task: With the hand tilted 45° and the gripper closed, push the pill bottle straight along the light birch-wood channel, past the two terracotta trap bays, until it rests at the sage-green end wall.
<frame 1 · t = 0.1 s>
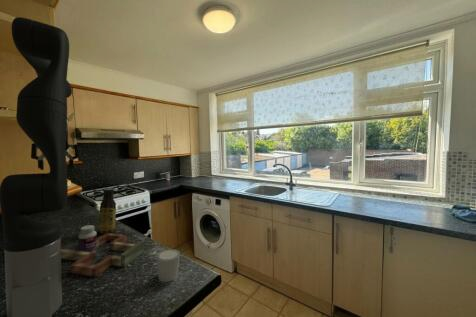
hand: (56, 169, 82), 29 cm above the counter, tool pointing down, fingers open, 8 cm apart
white cup: (168, 276, 63), on the counter
trap channel: (102, 254, 73), on the counter
sauce bottle: (107, 232, 92), on the counter
pill bottle: (87, 253, 74), resting in trap channel
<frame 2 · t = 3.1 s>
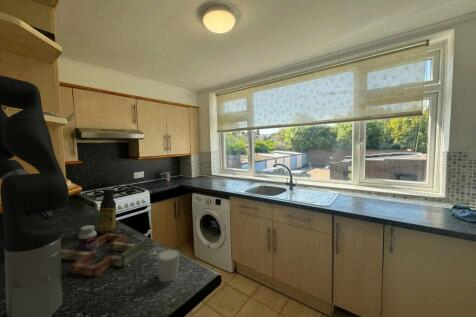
hand: (49, 218, 75), 12 cm above the counter, tool tilted 45°, fingers closed
nothing on the counter moved.
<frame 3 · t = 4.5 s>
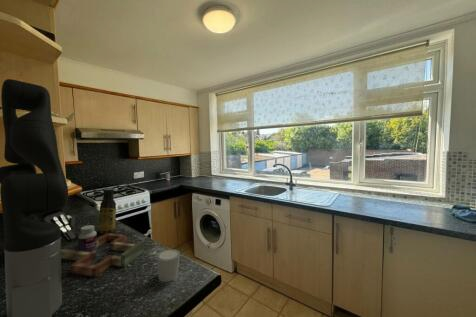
hand: (72, 240, 75), 4 cm above the counter, tool tilted 45°, fingers closed
nothing on the counter moved.
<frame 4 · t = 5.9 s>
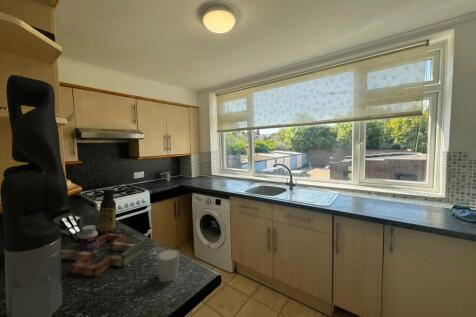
hand: (81, 242, 74), 4 cm above the counter, tool tilted 45°, fingers closed
pill bottle: (89, 253, 74), resting in trap channel, touching gripper
everything else where it was.
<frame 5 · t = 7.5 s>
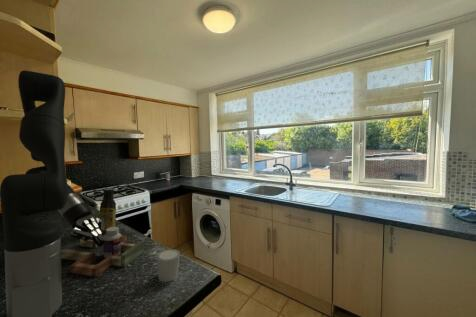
hand: (103, 244, 73), 4 cm above the counter, tool tilted 45°, fingers closed
pill bottle: (112, 255, 73), resting in trap channel, touching gripper
everything else where it was.
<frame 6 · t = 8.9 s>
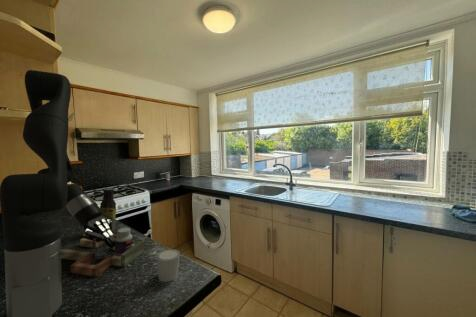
hand: (114, 245, 72), 4 cm above the counter, tool tilted 45°, fingers closed
pill bottle: (123, 256, 73), resting in trap channel, touching gripper
everything else where it was.
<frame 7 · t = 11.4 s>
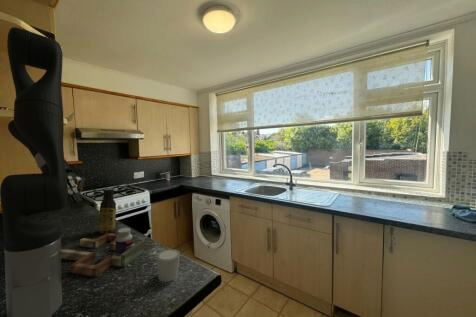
hand: (78, 204, 71), 19 cm above the counter, tool tilted 40°, fingers closed
pill bottle: (124, 256, 73), resting in trap channel
everything else where it was.
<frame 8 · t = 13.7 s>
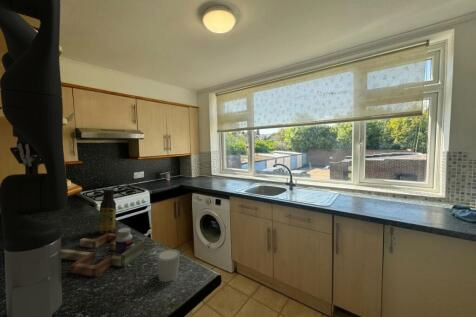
hand: (32, 177, 63), 29 cm above the counter, tool pointing down, fingers closed
nothing on the counter moved.
at the end: pill bottle 1.3 cm from the target spot, resting in trap channel; pill bottle tilted 0°; pill bottle moved 14.1 cm from its start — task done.
